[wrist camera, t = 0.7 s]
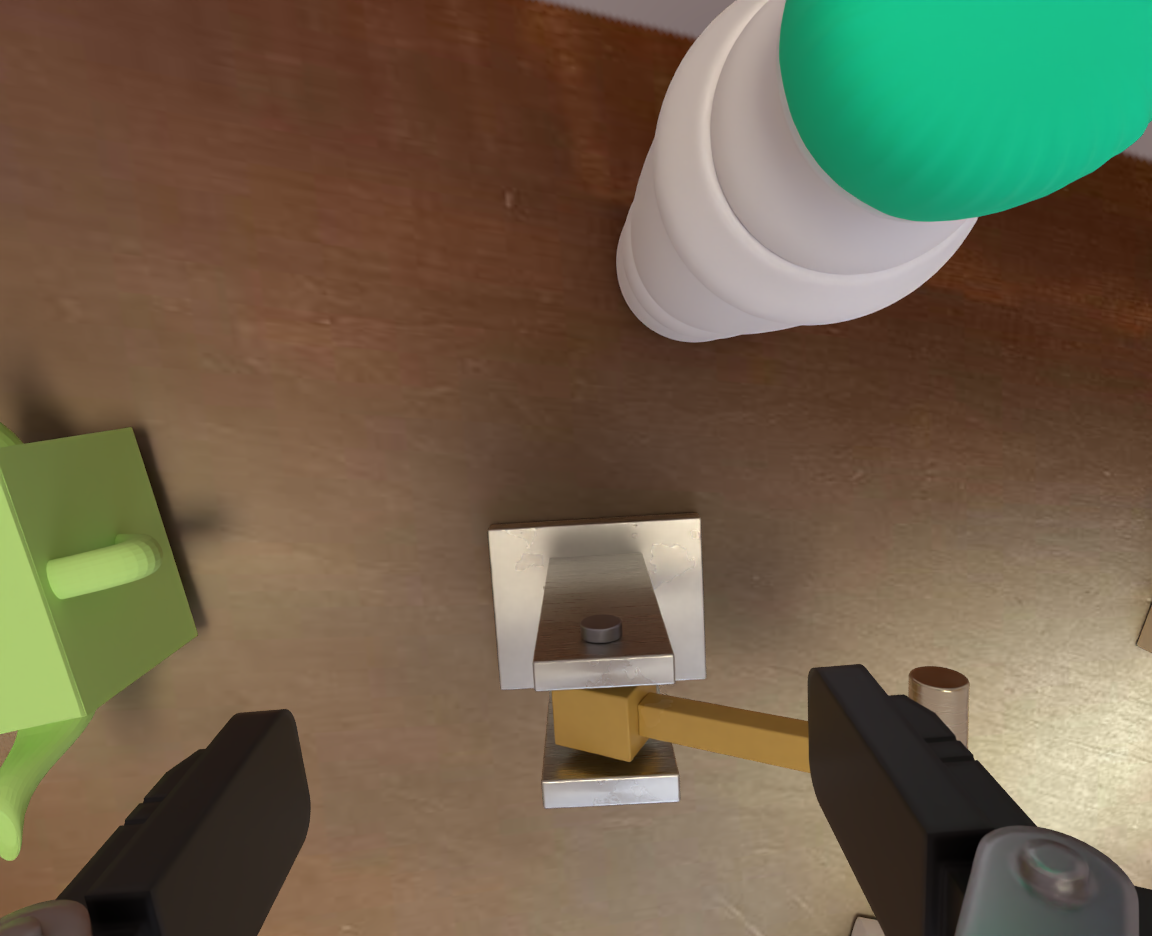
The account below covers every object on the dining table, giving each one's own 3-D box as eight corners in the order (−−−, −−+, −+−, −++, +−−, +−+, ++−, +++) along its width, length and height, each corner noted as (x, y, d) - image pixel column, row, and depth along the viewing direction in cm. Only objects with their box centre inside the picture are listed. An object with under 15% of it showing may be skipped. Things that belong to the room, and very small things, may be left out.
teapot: (23, 340, 33) (-235, 332, 23) (283, 475, 34) (152, 528, 24) (-91, 615, 35) (-375, 724, 25) (157, 735, 36) (-15, 890, 26)
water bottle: (698, 148, 32) (1113, -592, 7) (801, 267, 32) (1507, -23, 8) (583, 260, 32) (587, -52, 8) (686, 374, 33) (990, 421, 8)
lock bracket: (697, 512, 34) (765, 602, 22) (702, 668, 35) (770, 841, 23) (490, 524, 34) (437, 620, 22) (502, 679, 36) (459, 857, 23)
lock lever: (969, 662, 20) (969, 701, 17) (965, 843, 20) (964, 901, 18) (581, 611, 25) (546, 636, 23) (590, 754, 26) (557, 790, 24)
